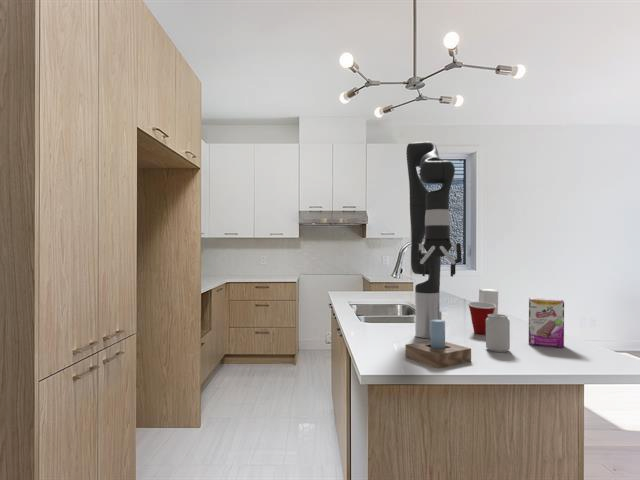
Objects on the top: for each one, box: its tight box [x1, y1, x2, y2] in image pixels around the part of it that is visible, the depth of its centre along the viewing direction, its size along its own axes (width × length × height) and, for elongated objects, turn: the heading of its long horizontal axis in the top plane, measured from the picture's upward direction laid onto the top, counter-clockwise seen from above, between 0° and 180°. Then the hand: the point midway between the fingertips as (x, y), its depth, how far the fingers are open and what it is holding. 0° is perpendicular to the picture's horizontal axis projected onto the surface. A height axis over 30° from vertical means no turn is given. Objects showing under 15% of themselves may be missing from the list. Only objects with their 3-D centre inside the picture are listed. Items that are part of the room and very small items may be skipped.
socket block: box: [405, 340, 472, 369], centre depth 133 cm, size 14×14×4 cm
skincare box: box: [478, 288, 499, 314], centre depth 191 cm, size 8×7×16 cm
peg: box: [430, 319, 446, 350], centre depth 133 cm, size 4×4×12 cm
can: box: [485, 313, 511, 353], centre depth 144 cm, size 8×8×12 cm
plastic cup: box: [467, 301, 496, 336], centre depth 171 cm, size 11×11×12 cm
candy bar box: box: [528, 297, 565, 349], centre depth 151 cm, size 11×5×16 cm, turn 65°
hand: (437, 276), depth 133 cm, fingers open, 8 cm apart
